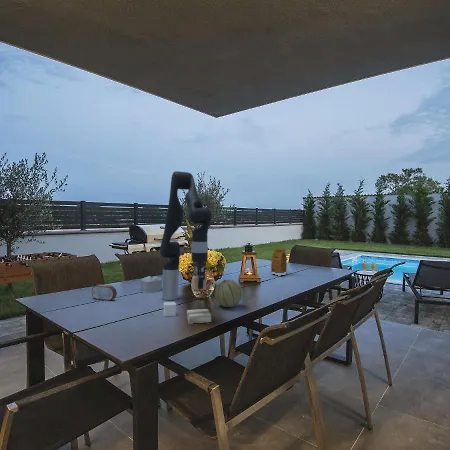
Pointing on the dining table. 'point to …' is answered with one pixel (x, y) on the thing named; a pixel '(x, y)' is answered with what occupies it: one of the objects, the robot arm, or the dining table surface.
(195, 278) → the terracotta cube
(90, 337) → the dining table surface
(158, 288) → the lumpy-topped squat cylinder
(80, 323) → the dining table surface
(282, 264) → the coffee package
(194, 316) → the gray block
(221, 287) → the cantaloupe
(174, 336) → the dining table surface
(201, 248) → the robot arm
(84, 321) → the dining table surface
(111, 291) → the tin
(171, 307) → the offwhite cube
